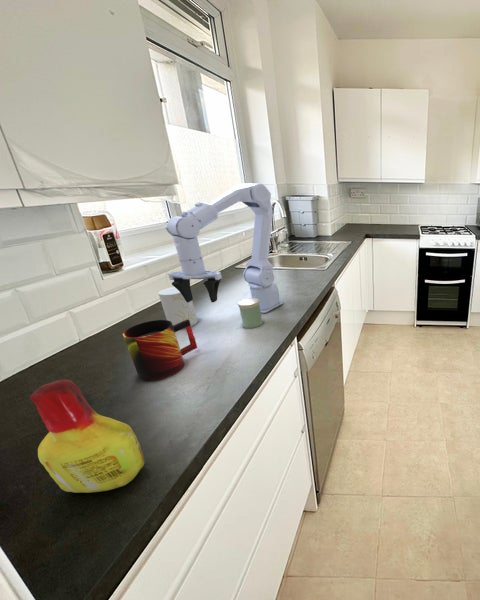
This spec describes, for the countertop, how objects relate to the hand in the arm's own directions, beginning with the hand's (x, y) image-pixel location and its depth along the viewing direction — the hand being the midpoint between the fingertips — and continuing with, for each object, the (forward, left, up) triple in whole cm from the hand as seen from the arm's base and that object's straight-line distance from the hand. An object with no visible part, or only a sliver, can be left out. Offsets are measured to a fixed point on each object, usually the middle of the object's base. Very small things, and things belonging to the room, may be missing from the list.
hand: (202, 301), depth 97 cm
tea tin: (-8, +10, -10) cm, 16 cm away
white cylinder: (0, -12, -10) cm, 16 cm away
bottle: (+46, +31, -10) cm, 56 cm away
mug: (+19, +7, -10) cm, 22 cm away
